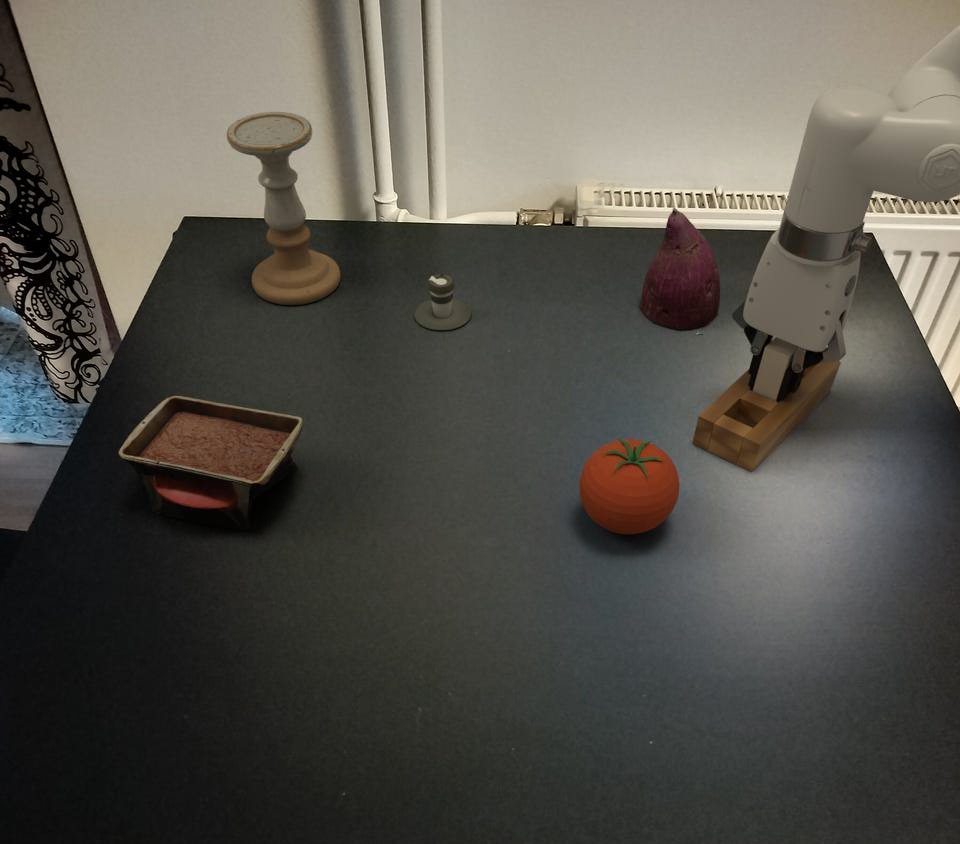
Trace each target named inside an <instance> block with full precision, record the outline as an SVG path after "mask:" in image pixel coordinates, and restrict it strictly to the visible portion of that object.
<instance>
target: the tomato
mask: <svg viewBox="0 0 960 844" xmlns="http://www.w3.org/2000/svg"><path fill="white" fill-rule="evenodd" d="M579 478H580V479H579V482H578V483H579V497H580V500H581V503H582V507H583V508H584V510H585V511H586V513H587V515H588V516H589V518H591V520H593V521H594V522H595V523H596V524H597V525H599V526H600V527H602V528H604V529H606V530H608V531H610V532H612V533H615V534H619V535H634V534H642V533H646V532H649V531H651V530H652V529H654V528H656V527H658V526H659V525H660V524H662V523H663V522H665V520H666V519H667V518H668V517H669V516H670V515H671V513H672V512H673V510H674V508H675V506H676V504H677V502H678V499H679V495H680V484H681V483H680V477H679V473H678V470H677V467H676V465H675V464H674V461H673V460H672V458H671V457H670V456H669V454H667V453H666V452H665V451H664V450H663V449H661V448H660V447H658V446H656V445H655V444H653V443H652V441H650V440H649V441H644V440H642V439H632V438H625V439H620V438H617V440H616V441H615V440H614V441H612V442H611V441H610V442H609V443H606V444H604V445H603V446H601V447H599V448H598V449H597V450H596V451H595V452H594V453H593V454H591V456H590V457H589V458H588V460H586V462H585V465H584V466H583V468H582V470H581V475H580V477H579Z"/></svg>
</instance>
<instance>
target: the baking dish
mask: <svg viewBox="0 0 960 844" xmlns="http://www.w3.org/2000/svg"><path fill="white" fill-rule="evenodd" d="M303 423H304V421H303V417H302V416H299V415H290V414H285V413H280V412H275V411H271V410H270V411H268V410H262V409H258V408H249V407H243V406H238V405H231V404H226V403H221V402H215V401H214V402H213V401H210V400H205V399H197V398H193V397H189V396H188V397H187V396H183V395H182V396H181V395H173V396H170V397H166V399H164V400H162V401H160V402H159V403H158V404H156V406H155V407H154V408H152V409H150V411H149V412H148V413H147V415H146V416H144V418H143V419H142V420H141V421H140V422H139V423H138V424H137V425H136V426H135V427H134V428H133V430H132V431H131V432H129V433H128V436H127V437H126V439H125V440H124V442H123V444H122V445H121V447H120V448H119V449H118V455H119V457H120V458H121V459H122V460H124V461H126V462H127V463H128V464H129V465H130V466H131V467H132V468H133V470H134V471H135V473H136V474H137V475H138V476H139V478H140V479H141V481H142V483H143V485H144V488H145V491H146V494H147V497H148V500H149V504H150V506H151V512H153V513H155V514H157V515H159V516H160V515H161V516H165V517H169V518H173V519H178V520H183V521H188V522H194V523H200V524H206V525H211V526H218V527H224V528H233V529H239V530H249V528H250V524H251V517H252V508H253V501H254V499H256V498H258V497H259V496H260V495H262V494H263V493H265V492H266V491H267V490H268V489H270V488H271V487H273V486H274V485H276V484H277V483H278V482H280V481H281V480H283V479H284V478H286V477H287V476H288V475H290V473H291V472H293V471H294V470H295V469H296V468H297V467H298V464H297V463H296V462H295V461H293V459H292V454H293V452H294V450H295V449H296V446H297V444H298V440H299V439H300V436H301V433H302V431H303Z"/></svg>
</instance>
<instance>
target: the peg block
mask: <svg viewBox="0 0 960 844" xmlns="http://www.w3.org/2000/svg"><path fill="white" fill-rule="evenodd" d="M841 363H842V362H841V360H840V361H838V362H826V363H824V362H820V363H818V364H816V365H814V366H811V367H809V368H806V369H805V372H804V375H803V378H802V381H801V384H800V386H799V388H798V390H797V391H796V392H795V393H792V392H791V393H790V394H789V395H788V396H787V397H786V398H785V399H784V400H783V401H782V400H781V401H780V402H779V403H778V402H776V401H774V400H771V399H769V398H767V397H765V396H762V395H760V394H758V393H756V392H753V388H754V387H753V388H752V387H750V386H748V384H749V380H750V377H751V375H750V374H748V371H749V368H748V369H747V370H746V371H745V372H743V374H742V375H741V376H739V378H738V379H736V380H735V381H734V382H733V383H732V384H731V385H730V386H729V387H727V389H726V390H724V392H723V393H721V394H720V395H719V396H718V397H717V398H716V399H715V400H714V401H713V402H712V403H711V404H710V405H709V406H707V408H705V409H704V410H703V411H701V413H700V414H699V415H698V417H697V421H696V426H695V430H694V435H693V438H692V439H693V440H692V445H695V446H697V447H699V448H700V449H703V450H705V451H708V452H709V453H711V454H713V455H715V456H717V457H719V458H722V459H724V460H726V461H728V462H729V463H732V464H734V465H736V466H738V467H740V468H743V469H744V470H746V471H749V472H750V473H752V472H754V471H755V470H756V469H757V467H759V465H760V464H762V462H764V460H765V459H766V458H768V456H769V455H770V454H771V453H772V452H773V451H774V450H775V449H776V448H777V447H778V446H779V445H780V443H781V442H782V441H784V439H785V438H786V437H788V435H789V434H791V432H792V431H793V430H794V429H795V428H796V427H797V426H798V425H799V424H800V422H802V421H803V420H804V418H806V416H808V414H809V413H810V412H811V411H812V410H813V409H814V408H815V407H816V406H817V405H818V404H819V403H820V402H821V401H822V399H824V398H825V396H827V394H828V393H830V391H831V390H832V389H833V386H834V382H835V380H836V377H837V374H838V372H839V368H840V367H841Z"/></svg>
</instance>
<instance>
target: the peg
mask: <svg viewBox="0 0 960 844" xmlns="http://www.w3.org/2000/svg"><path fill="white" fill-rule="evenodd" d="M795 347H796V345H794V344H791V343H789V342H787V341H784V340H782V339H779V338H777V337H773V340H772V341H771V342H770V343H769V344H768V345H767V346H766V347H765V349H764V353H763V356H762V360H761V363H760V367H759V371H758V374H757V378H756V381H755V385H754V388H753V392H756V393H758V394H760V395H762V396H765V397H767V398H769V399H771V400H774V401H776V402H778V403H779V402H780V401H781V400H779V399H778V397H777V396H778V393H779V390H780V387H781V384H782V380H783V377H784V374H785V371H786V370H787V368H788V367H790V366H791V363H792V362H793V357H794V352H795Z"/></svg>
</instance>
